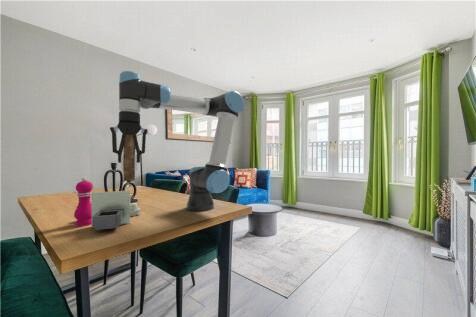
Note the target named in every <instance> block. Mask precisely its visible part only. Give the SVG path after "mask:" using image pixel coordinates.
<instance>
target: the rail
mask: <svg viewBox="0 0 476 317" xmlns="http://www.w3.org/2000/svg"><path fill="white" fill-rule="evenodd" d="M123 155H124V171H123V182H132V181H136V171H135V155H136V148H135V143H134V138H133V135H126V136H125V141H124V148H123Z"/></svg>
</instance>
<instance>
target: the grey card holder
mask: <svg viewBox="0 0 476 317" xmlns="http://www.w3.org/2000/svg"><path fill="white" fill-rule="evenodd" d="M90 199H91V204H92V224H91V228H93V229H94V230H95V231H100V230H101V231H102V230H109V229H119V227H120V225H129V224H131V216H130V204H131V190H119V191H118V190H117V191H98V192H97V191H95V192H92V193H91V196H90Z"/></svg>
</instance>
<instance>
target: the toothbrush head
mask: <svg viewBox="0 0 476 317" xmlns="http://www.w3.org/2000/svg"><path fill="white" fill-rule="evenodd" d="M140 211H141V207H139V206H138V203H137V202H130V217H136V216H137V215H139V216H140Z"/></svg>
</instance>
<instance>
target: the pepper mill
mask: <svg viewBox="0 0 476 317" xmlns="http://www.w3.org/2000/svg"><path fill="white" fill-rule="evenodd" d="M93 189H94V186H93V183H92V182H91V181H88V178H87V177H85V176H84V177H82V179H81V181H79V182H78V183H76V185H75V191H76V192H77V193H76V194H77V195H76V196H77V197H78V204H77V206H76V208H75V210H74V213H73V217H74V219H75V226H76V227H86V226H90V225H91V226H92V201H91V193H93V192H92V191H93Z"/></svg>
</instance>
